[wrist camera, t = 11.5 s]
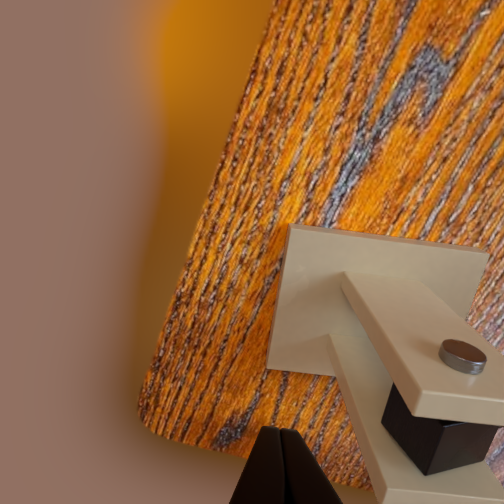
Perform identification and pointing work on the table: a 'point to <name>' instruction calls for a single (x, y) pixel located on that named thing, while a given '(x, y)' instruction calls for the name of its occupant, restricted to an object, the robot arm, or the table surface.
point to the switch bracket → (391, 346)
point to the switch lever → (435, 437)
